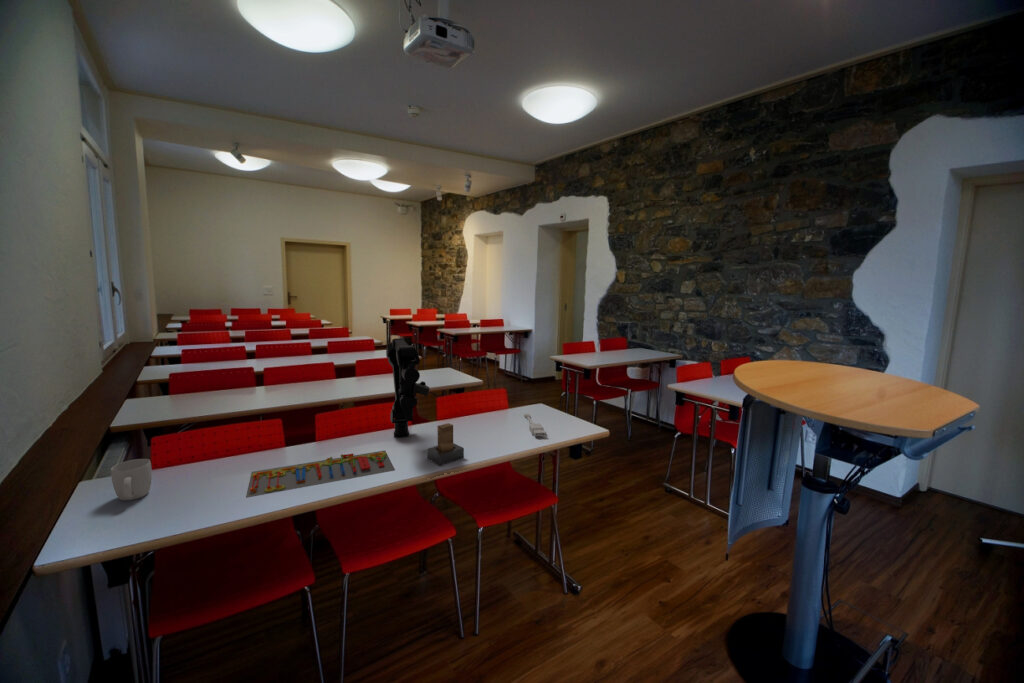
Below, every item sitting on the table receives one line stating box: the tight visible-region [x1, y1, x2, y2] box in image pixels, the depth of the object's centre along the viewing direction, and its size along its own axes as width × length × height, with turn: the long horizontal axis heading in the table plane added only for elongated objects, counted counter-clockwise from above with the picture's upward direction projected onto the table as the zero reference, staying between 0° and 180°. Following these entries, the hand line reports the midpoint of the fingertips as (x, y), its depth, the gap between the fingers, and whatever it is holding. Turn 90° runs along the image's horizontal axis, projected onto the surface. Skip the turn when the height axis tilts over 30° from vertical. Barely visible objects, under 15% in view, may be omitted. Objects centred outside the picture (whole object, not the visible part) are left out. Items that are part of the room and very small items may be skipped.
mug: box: [110, 458, 153, 502], centre depth 127 cm, size 13×9×10 cm
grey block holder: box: [426, 442, 465, 467], centre depth 159 cm, size 9×11×4 cm
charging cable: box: [523, 413, 546, 437], centre depth 197 cm, size 5×32×3 cm, turn 9°
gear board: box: [245, 450, 396, 498], centre depth 147 cm, size 45×2×19 cm
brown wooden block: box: [437, 422, 454, 452], centre depth 159 cm, size 3×5×13 cm, turn 133°
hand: (408, 416), depth 167 cm, fingers open, 9 cm apart
